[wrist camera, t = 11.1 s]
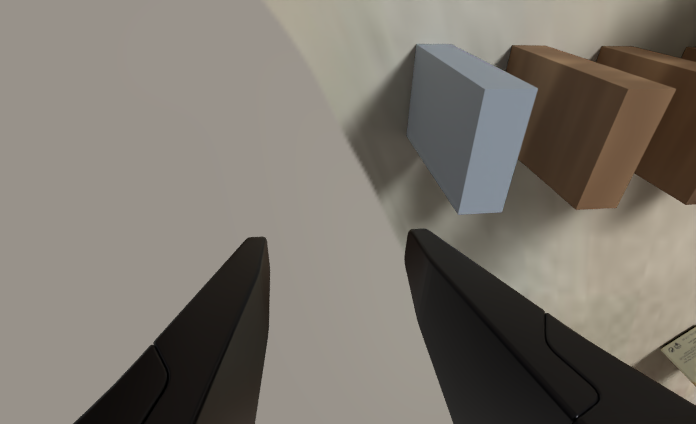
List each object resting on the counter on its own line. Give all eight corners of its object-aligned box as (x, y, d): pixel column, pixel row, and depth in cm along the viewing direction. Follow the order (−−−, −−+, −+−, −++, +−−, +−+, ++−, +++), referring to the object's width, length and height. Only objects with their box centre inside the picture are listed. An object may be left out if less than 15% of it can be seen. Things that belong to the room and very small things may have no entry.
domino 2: (545, 45, 19) (676, 89, 13) (519, 134, 22) (616, 207, 15) (512, 45, 19) (628, 89, 12) (490, 134, 22) (575, 209, 15)
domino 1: (451, 43, 19) (538, 88, 12) (437, 135, 21) (501, 212, 15) (416, 44, 18) (485, 89, 12) (406, 135, 21) (458, 214, 15)
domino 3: (632, 46, 20) (802, 88, 13) (597, 132, 22) (723, 203, 16) (601, 46, 20) (757, 88, 13) (569, 132, 22) (685, 204, 16)
